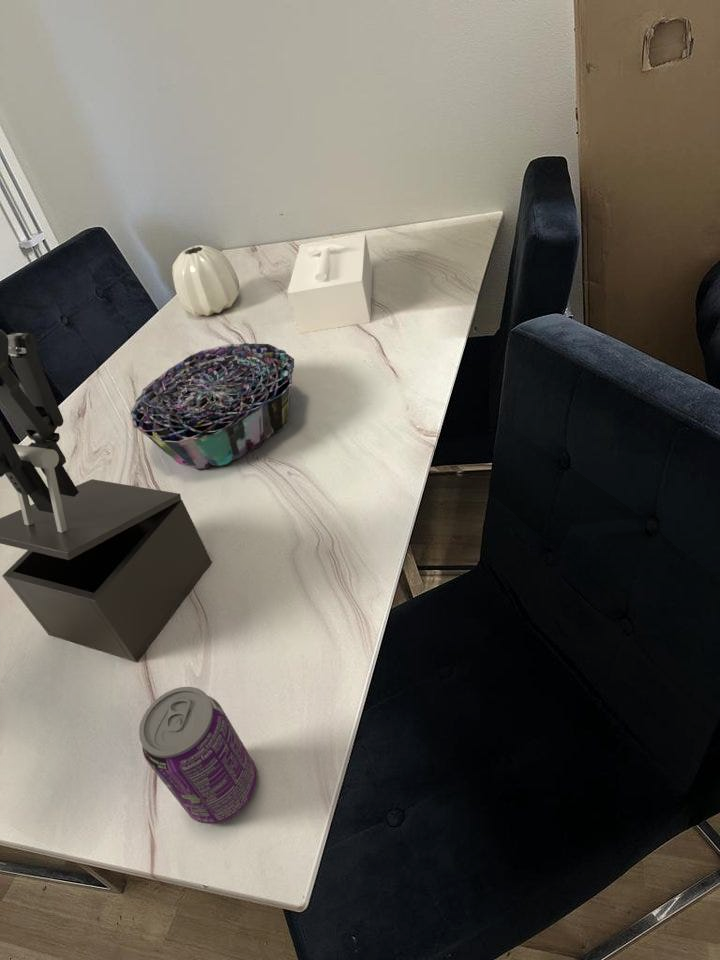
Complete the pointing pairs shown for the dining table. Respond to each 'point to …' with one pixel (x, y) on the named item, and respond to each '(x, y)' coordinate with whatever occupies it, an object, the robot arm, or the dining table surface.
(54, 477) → the lid
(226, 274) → the vase
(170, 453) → the decorative bowl
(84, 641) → the dark open box
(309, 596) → the dining table surface
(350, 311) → the white embossed block
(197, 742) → the beverage can
